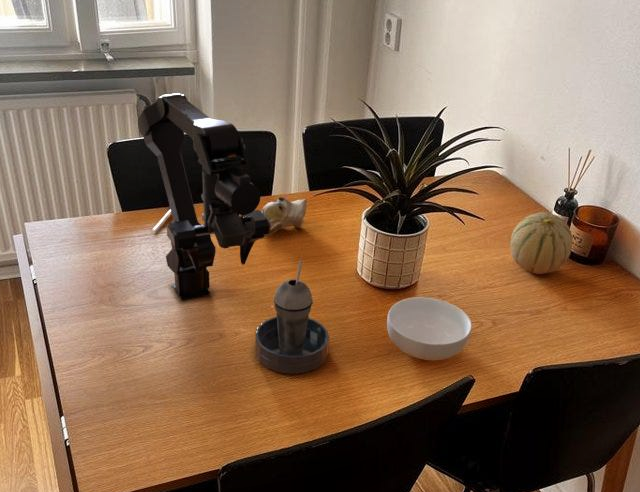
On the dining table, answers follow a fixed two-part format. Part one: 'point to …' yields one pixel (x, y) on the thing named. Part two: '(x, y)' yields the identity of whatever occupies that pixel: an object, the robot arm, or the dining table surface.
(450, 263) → the dining table surface
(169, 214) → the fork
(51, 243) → the dining table surface
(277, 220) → the ceramic sculpture
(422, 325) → the cereal bowl
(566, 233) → the cantaloupe
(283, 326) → the beverage cup
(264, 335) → the dark gray pet bowl
